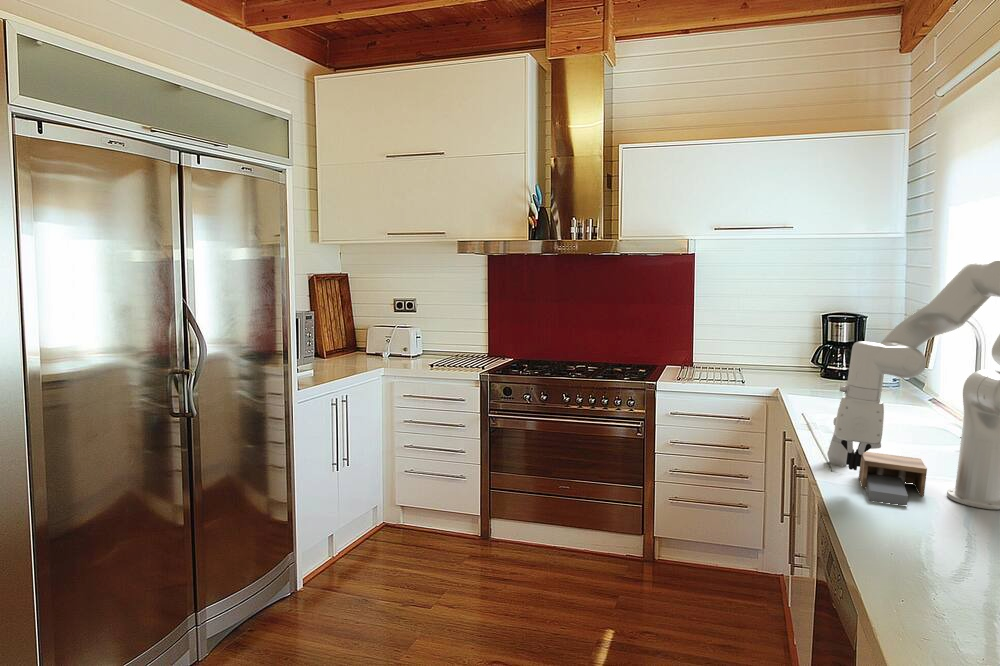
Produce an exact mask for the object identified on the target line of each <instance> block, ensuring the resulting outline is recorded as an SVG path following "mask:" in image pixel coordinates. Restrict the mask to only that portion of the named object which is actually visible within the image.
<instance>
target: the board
mask: <svg viewBox="0 0 1000 666" xmlns="http://www.w3.org/2000/svg"><path fill="white" fill-rule="evenodd" d="M866 490H867V491H866ZM865 491H866V494H867V499H868V502H872V501H874V502H873V503H879V502H883V503H882V504H886V503H890V504H889V505H892V504H898V505H897V506H899V505H907V506H908V502H909V495H908V491H907V489H906V487H905V486H904V484H903V481H902V479H901V478H900V477H893V476H886V475H879V474H872V473H867V479H866V488H865Z"/></svg>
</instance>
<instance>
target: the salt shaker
mask: <svg viewBox="0 0 1000 666" xmlns="http://www.w3.org/2000/svg"><path fill="white" fill-rule="evenodd" d="M836 417H837V416H836ZM836 417H834V418H833V426H835V423H836ZM833 431H834V432H835V429H834V430H833ZM834 432H833V433H834ZM846 441H847V440H846ZM847 453H848V451H847V450H846V449H845V447H844V446H843V445H842V444H840V443H837V442H834V441H833V440H832V439H831V441H830V444H829V447H828V450H827V453H826V454H827V459H828V461H829V464H831V465H834V466H836V467H838V466H839V467H845V466H847V465H846V460H847Z"/></svg>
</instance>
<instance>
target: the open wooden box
mask: <svg viewBox="0 0 1000 666" xmlns="http://www.w3.org/2000/svg"><path fill="white" fill-rule="evenodd" d="M927 471H928V468H927V466H926V465H925V463H924V461H923V459H922V458H919V457H910V456H904V455H903V456H902V455H894V454H887V453H879V452H871V451H866V452H864V453H863V454H862V457H861V464H860V467H859V471H858V472H859V473H858V477H860V479H859V481H861V482H860V486H861V485H862V486H861V488H862V487H863V488H864V489H866V479H867V473H872V474H879V475H886V476H893V477H900V478H901V479H902V481H903V484H904V486H905V485H906V484H905V482H906V483H913V484H915V485H916V487H915V488H917V489H916V491H917V490H918V491H919V493H920V494H919V493H918V494H919V496H920V495H923V496H922V497H925V489H926V480H927V473H928V472H927ZM915 485H914V486H915ZM918 491H917V492H918Z"/></svg>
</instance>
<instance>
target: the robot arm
mask: <svg viewBox="0 0 1000 666" xmlns="http://www.w3.org/2000/svg"><path fill="white" fill-rule="evenodd" d="M990 297H997V298H998V297H999V298H1000V258H991V257H990V258H989V257H987V258H986V257H985V258H984V257H979V258H976V259H973V260H971V261H970V262H968V263H967V264H966V265H965V266H964V267H963V268H962V269H961V270H959V272H958V273H957V274H956V275H955V276H954V277H953V278H952V279H950V281H949V283H947V284H946V285H945V287H943V288H942V290H941V291H939V293H938V294H937V295H936V296H935V297H934V298H933V299H932V300H931V301H930V302H929V303H927V305H924V306H923V307H921V308H920V309H917V311H915V312H913V314H911V315H910V316H908V317H906V318H904V319H903V320H902V321H901V322H900V323H899V324H897V325H896V326H895V327H894V328H893V329H892V330H891V331H890V332H889V333H888V334H887V335H886V336H885V337H884V338H883V339H882V341H880V342H879V343H878V342H872V341H861V340H860V341H856V342H854V343H853V345H852V348H851V352H850V353H851V354H850V361H849V367H848V373H847V374H848V376H847V381H846V382H847V383H846V384H845V385H840V386H839V392H842V393H844V394H845V395H843V396H842V397H841V399H840V403H839V406H838V409H837V414H836V423H835V425H834V430H835V432H833V434H832V438H831V440H833V441H834V442H837V443H840V444H842V445H843V446H844V447H845V449H846V450H847V451H848V453H847V460H846V465H845V466H847V465H848V470H853V471H857V470H858V467H859V468H860V464H861V457H862V454H863V453H864V452H869V450H870V449H871V450H874V449H881V448H882V443H881V442H882V437H883V430H884V421H885V419H884V418H885V410H884V409H885V405H884V402H883V401H881V396H882V390H883V383H884V375H889V376H894V377H897V378H903V379H912V378H913V379H914V378H915V377H919V375H921V374H922V373H923V372H924V371H925V370H926V366H927V359H926V356H925V355H924V354H923V352H921V350H919V347H920V346H922V345H923V344H924V343H925V342H927V341H929V340H930V339H932V338H935V337H937V336H940V335H944V334H946V333H949V332H952V331H955V330H957V329H959V328H961V327H962V326H964V325H965V324H966V323H967V321H968V320H969V319H970V318H971V317H972V316H973V315H974V314H975V313H976V312H977V311H978V310H979V309H980V308H981V307H982V306H983V305H984V303H986V302H987V301H988V300H989V299H990ZM991 357H992V358H993V360H994V362H995V363H996V364H998V365H999V366H1000V333H999V335H998V336H997V338H996V339H995V341H994V343H993V344H992V348H991ZM962 402H963V403H962V406H963V417H962V418H963V419H962V421H963V422H962V431H961V438H960V446H959V454H958V460H957V461H958V462H957V469H956V479H955V487H953V488H950V489H948V490H947V491H946V496H947V497H948V499H950V500H952V501H954V502H956V503H959V504H962V505H964V506H969V507H972V508H973V507H974V508H977V509H984V510H998V511H1000V370H996V369H995V370H994V369H990V368H989V369H987V368H986V369H980V370H977V371H974V372H972V373H970V375H968V377H967V378H966V380H965V381H964V384H963V388H962ZM846 440H847V441H846ZM853 442H855V443H858V446H857V448H856V449H855V450H856V451H855V450H854V448H853V447H854V443H853Z"/></svg>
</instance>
